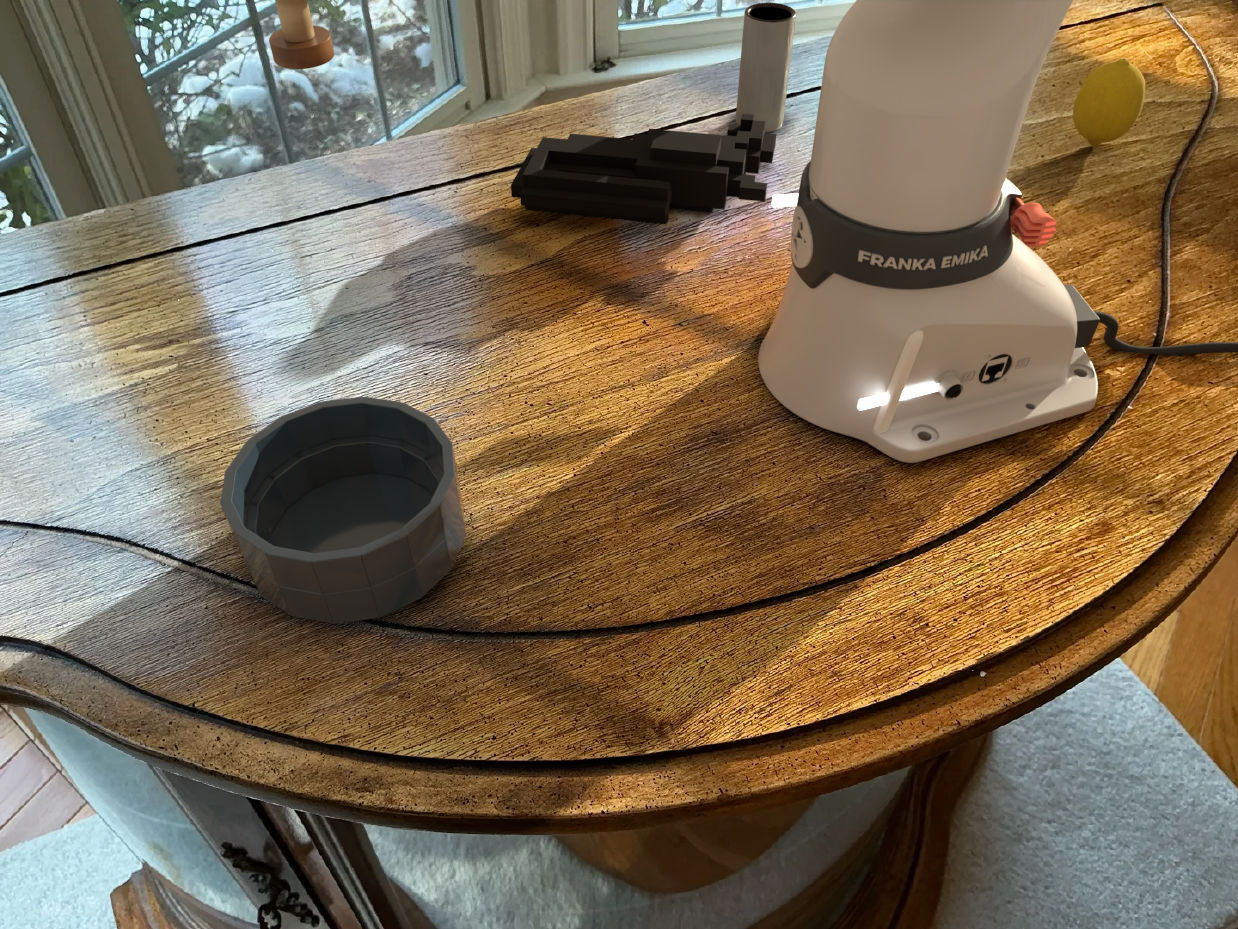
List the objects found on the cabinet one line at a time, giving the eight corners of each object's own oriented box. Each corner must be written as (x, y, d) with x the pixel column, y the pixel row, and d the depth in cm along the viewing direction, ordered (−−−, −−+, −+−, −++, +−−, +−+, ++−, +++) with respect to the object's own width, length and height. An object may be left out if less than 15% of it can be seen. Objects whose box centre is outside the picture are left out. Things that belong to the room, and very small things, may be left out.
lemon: (1049, 136, 92) (1077, 50, 86) (1100, 127, 93) (1130, 42, 87) (1086, 164, 88) (1118, 76, 83) (1138, 154, 89) (1173, 67, 84)
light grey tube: (790, 118, 95) (804, 8, 87) (770, 137, 92) (782, 25, 85) (748, 107, 96) (758, -2, 89) (727, 126, 94) (735, 14, 86)
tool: (551, 85, 88) (504, 167, 77) (780, 104, 85) (763, 192, 75) (554, 141, 92) (510, 226, 81) (773, 162, 89) (757, 253, 78)
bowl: (460, 458, 62) (448, 386, 58) (473, 614, 54) (460, 542, 49) (261, 483, 61) (234, 410, 56) (242, 646, 52) (208, 576, 48)
